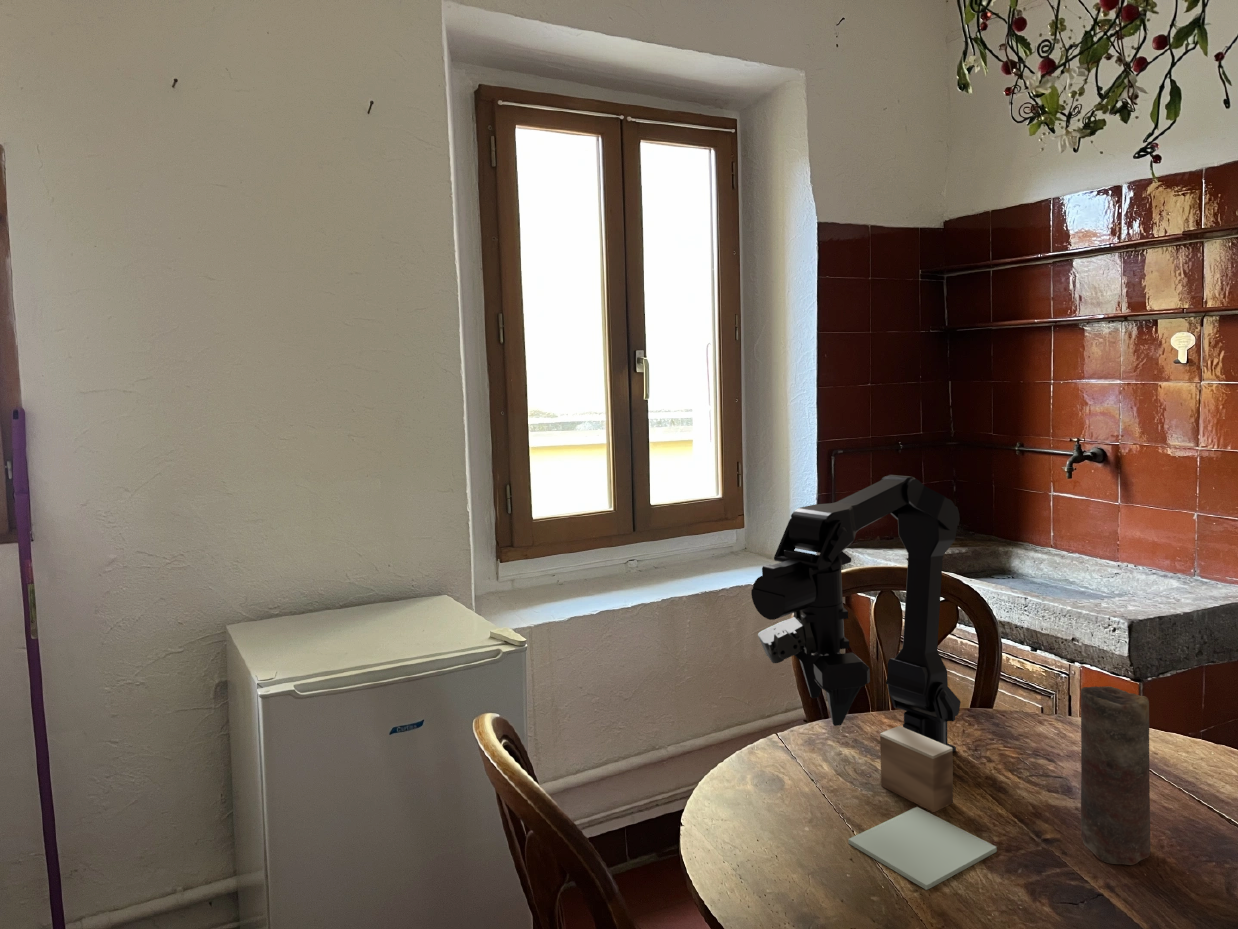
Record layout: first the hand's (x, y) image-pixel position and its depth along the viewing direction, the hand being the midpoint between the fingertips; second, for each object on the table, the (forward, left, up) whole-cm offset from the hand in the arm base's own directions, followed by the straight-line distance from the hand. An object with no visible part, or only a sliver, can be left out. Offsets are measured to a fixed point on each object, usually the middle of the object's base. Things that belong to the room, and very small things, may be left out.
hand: (825, 710), depth 118 cm
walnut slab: (-11, +6, -13) cm, 18 cm away
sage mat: (-1, +15, -13) cm, 20 cm away
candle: (-19, +29, -14) cm, 37 cm away
